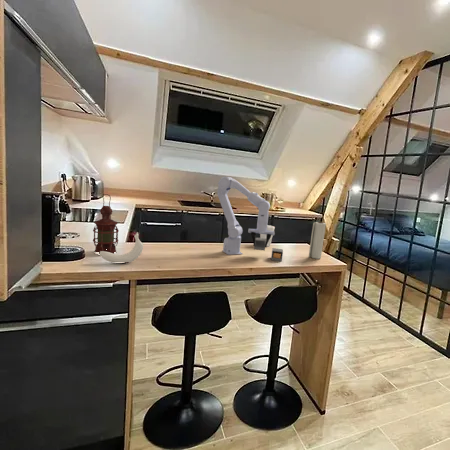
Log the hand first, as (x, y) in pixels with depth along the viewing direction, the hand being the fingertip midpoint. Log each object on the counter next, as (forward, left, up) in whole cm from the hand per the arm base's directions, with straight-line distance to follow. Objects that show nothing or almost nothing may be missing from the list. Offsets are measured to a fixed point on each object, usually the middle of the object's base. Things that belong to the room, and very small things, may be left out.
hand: (259, 246), depth 171 cm
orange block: (+8, -5, -6) cm, 12 cm away
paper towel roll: (+36, -5, -6) cm, 37 cm away
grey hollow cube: (0, 0, -1) cm, 1 cm away
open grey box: (+8, -5, -6) cm, 12 cm away
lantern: (-80, +17, -6) cm, 82 cm away
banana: (-74, -1, -6) cm, 74 cm away
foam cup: (+19, +24, -6) cm, 31 cm away
